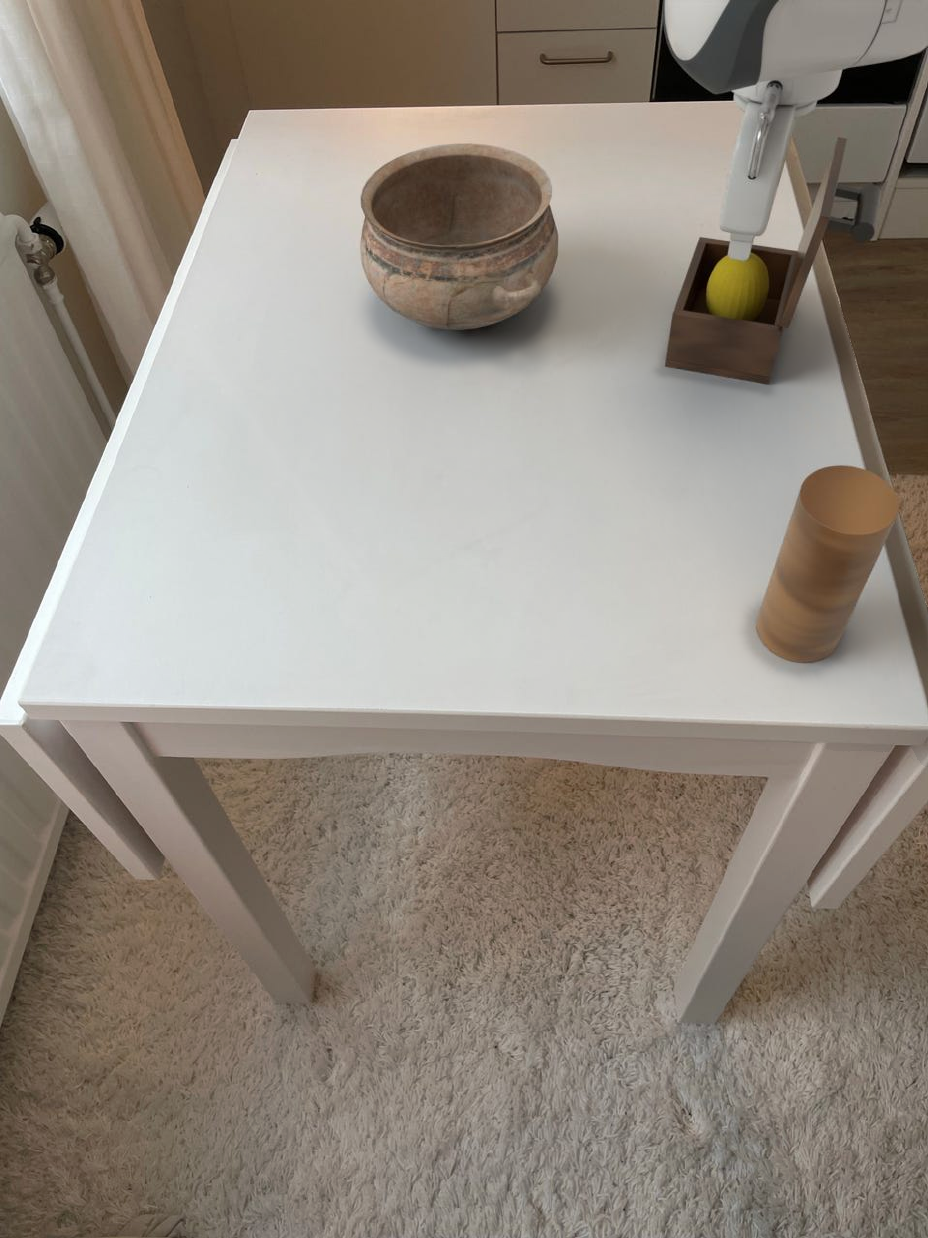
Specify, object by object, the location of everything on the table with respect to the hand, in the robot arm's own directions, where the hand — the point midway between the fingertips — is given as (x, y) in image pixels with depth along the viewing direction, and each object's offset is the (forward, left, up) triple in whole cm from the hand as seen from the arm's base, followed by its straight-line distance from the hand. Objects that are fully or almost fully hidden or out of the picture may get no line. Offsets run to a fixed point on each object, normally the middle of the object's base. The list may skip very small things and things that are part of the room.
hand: (748, 224), depth 83 cm
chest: (0, 0, -11) cm, 11 cm away
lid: (-5, 0, 0) cm, 5 cm away
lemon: (0, 0, -11) cm, 11 cm away
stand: (-11, +33, -11) cm, 37 cm away
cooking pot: (+26, +3, -12) cm, 29 cm away
